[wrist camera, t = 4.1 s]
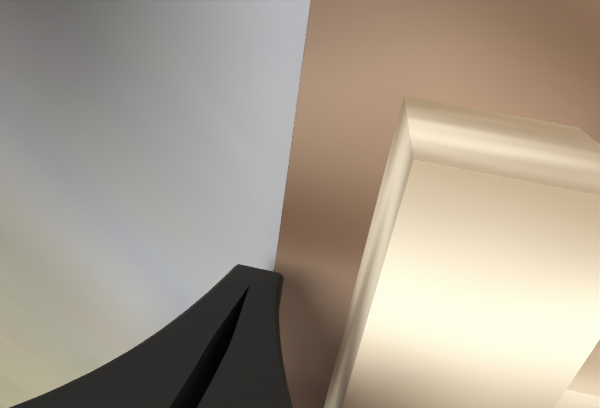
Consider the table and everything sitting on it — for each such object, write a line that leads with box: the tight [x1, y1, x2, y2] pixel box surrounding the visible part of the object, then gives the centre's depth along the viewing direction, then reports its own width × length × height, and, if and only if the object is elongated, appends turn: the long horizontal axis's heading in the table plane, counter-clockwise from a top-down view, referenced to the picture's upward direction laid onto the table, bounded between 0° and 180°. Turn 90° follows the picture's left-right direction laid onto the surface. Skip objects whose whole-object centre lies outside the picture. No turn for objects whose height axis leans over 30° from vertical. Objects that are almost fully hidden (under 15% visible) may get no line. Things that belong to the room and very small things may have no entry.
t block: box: [324, 96, 600, 408], centre depth 11 cm, size 12×12×4 cm
